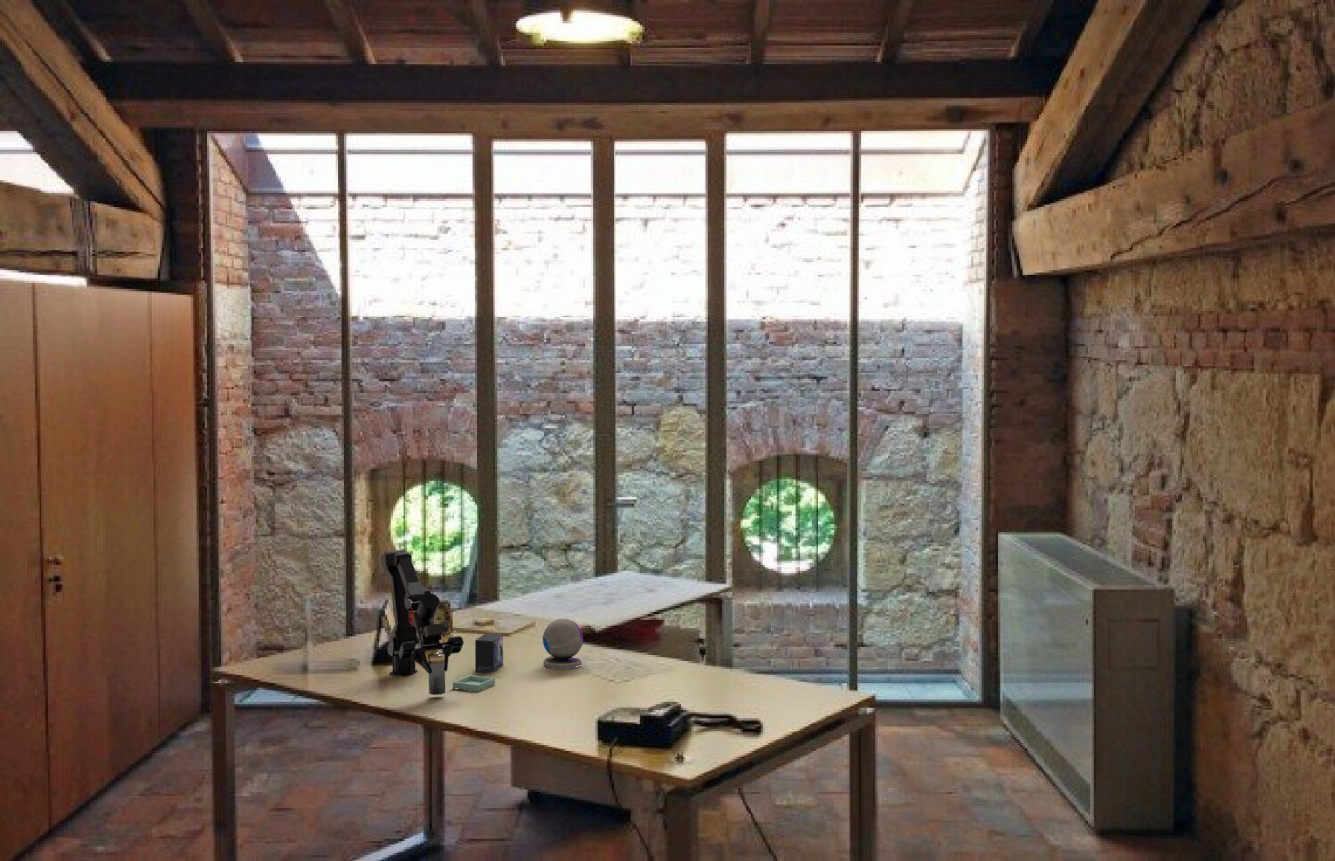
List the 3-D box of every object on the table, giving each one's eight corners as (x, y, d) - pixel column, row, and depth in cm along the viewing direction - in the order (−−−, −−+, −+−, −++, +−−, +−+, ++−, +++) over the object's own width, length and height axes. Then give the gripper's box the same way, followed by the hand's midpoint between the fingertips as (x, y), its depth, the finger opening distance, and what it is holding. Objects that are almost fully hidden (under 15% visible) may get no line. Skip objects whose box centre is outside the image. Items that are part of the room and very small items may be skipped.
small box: (494, 673, 458) (493, 640, 457) (474, 672, 459) (473, 640, 458) (504, 665, 468) (503, 633, 467) (485, 664, 469) (484, 632, 469)
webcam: (588, 667, 464) (587, 621, 463) (550, 671, 459) (549, 624, 458) (575, 658, 476) (574, 613, 475) (538, 662, 471) (537, 617, 470)
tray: (452, 688, 439) (452, 682, 439) (469, 681, 447) (469, 675, 447) (478, 691, 435) (478, 685, 435) (495, 684, 443) (494, 678, 443)
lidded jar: (425, 693, 428) (424, 653, 427) (435, 689, 432) (434, 650, 431) (439, 695, 426) (438, 655, 425) (448, 691, 430) (447, 651, 429)
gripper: (400, 616, 426) (413, 660, 418) (461, 609, 435) (474, 653, 426) (393, 637, 434) (405, 681, 425) (452, 630, 443) (465, 673, 434)
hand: (438, 671), depth 427 cm, fingers closed on lidded jar, 5 cm apart
